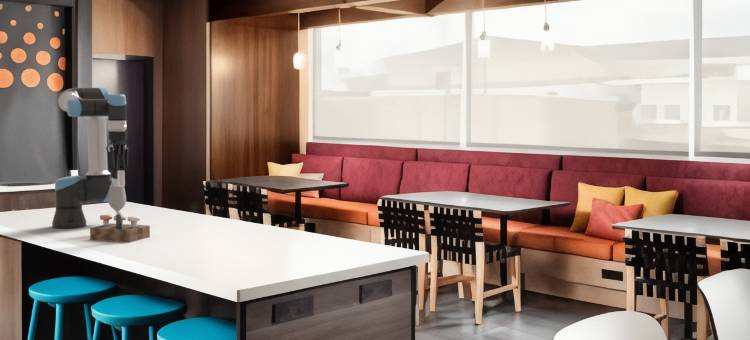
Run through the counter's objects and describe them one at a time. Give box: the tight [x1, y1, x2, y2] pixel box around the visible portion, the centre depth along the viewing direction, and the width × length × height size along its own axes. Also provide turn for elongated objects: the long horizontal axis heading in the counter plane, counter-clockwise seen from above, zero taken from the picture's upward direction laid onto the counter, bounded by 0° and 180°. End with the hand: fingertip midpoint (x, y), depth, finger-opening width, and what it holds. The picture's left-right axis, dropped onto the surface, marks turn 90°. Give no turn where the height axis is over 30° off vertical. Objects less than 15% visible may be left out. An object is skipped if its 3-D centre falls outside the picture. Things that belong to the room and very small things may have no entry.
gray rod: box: [115, 211, 122, 229], centre depth 359 cm, size 2×2×7 cm
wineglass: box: [108, 185, 127, 214], centre depth 384 cm, size 8×8×21 cm
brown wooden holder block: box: [89, 222, 151, 243], centre depth 366 cm, size 20×14×5 cm
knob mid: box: [113, 214, 127, 227], centre depth 366 cm, size 5×5×6 cm
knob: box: [127, 215, 141, 228], centre depth 364 cm, size 5×5×6 cm
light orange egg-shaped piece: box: [99, 214, 113, 227], centre depth 368 cm, size 5×5×6 cm
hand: (119, 185), depth 365 cm, fingers open, 3 cm apart
